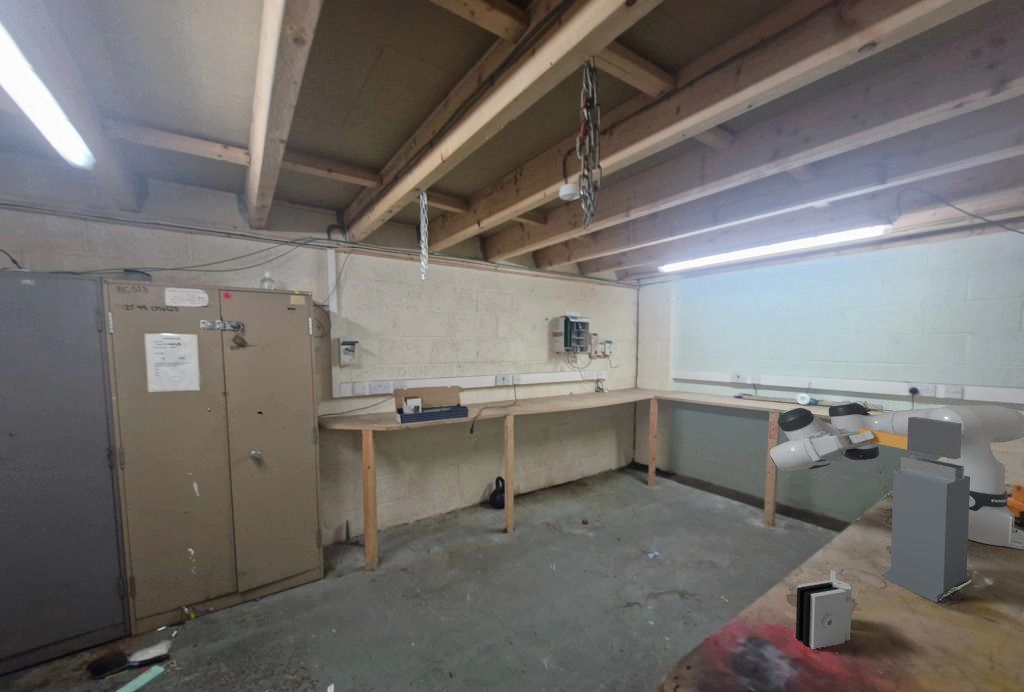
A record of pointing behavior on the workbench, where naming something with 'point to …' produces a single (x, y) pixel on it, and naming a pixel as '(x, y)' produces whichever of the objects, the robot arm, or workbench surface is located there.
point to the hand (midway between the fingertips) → (878, 433)
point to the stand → (929, 527)
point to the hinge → (823, 612)
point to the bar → (924, 437)
